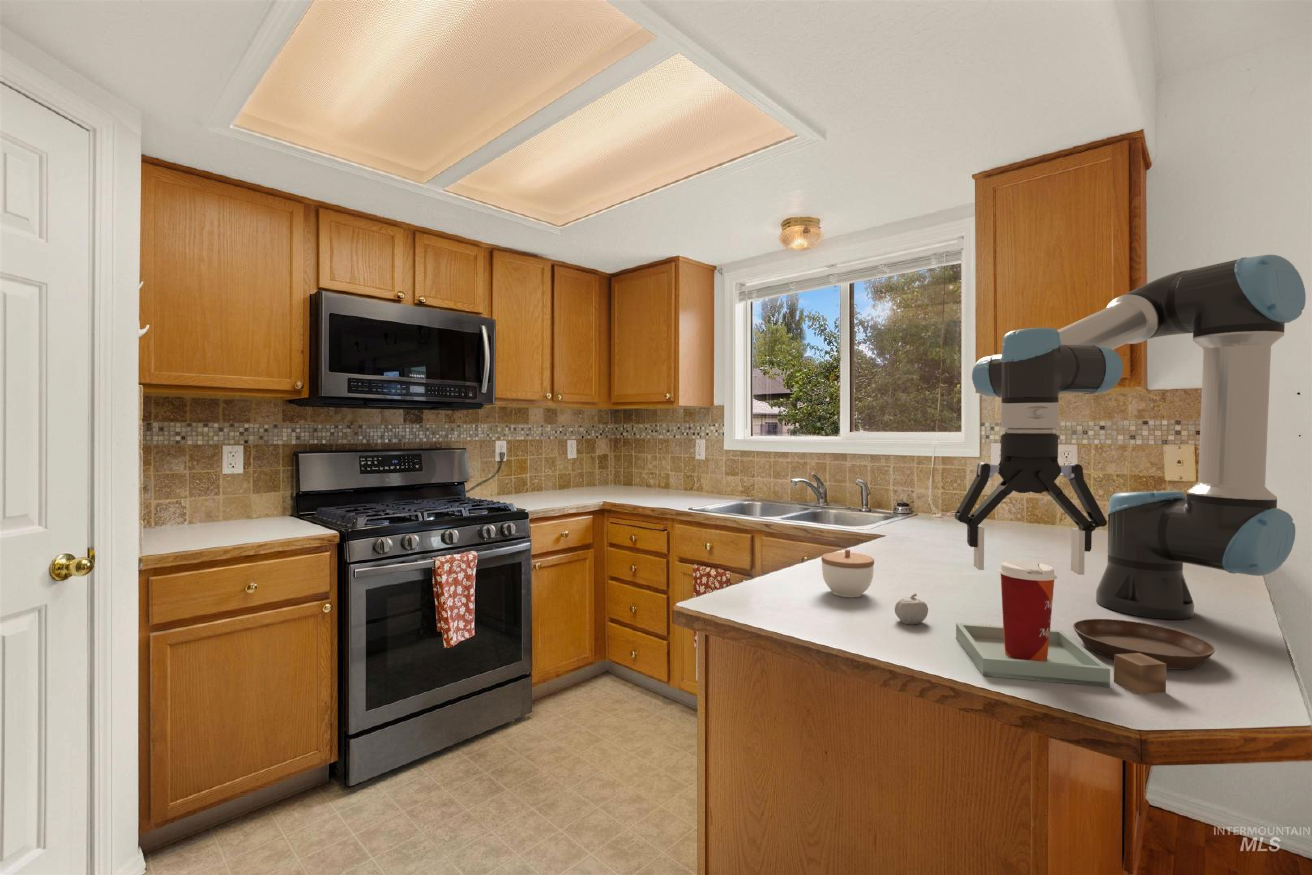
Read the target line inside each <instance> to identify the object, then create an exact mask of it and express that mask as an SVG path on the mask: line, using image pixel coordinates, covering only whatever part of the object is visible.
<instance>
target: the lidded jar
mask: <svg viewBox="0 0 1312 875" xmlns="http://www.w3.org/2000/svg"><path fill="white" fill-rule="evenodd" d="M820 560H821V571H822V577H823V581H824V583H825V584H826V586H827V588H828V589H829V590H830V591H831V592H832V594H833V595H835V596H837V597H843V598H859V597H862V596H863V594H864V593H865V592H866V591H867V590H868V589H869V587H870V586H871V585H872V582H873V577H874V565H875V558H873V557H872V556H870V555H866V554H862V553H856V552H851V549H847V548H846V549H845V550H844V551H834V552H827V553H823V554H822V555H821V558H820Z"/></svg>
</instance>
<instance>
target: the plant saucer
mask: <svg viewBox="0 0 1312 875" xmlns="http://www.w3.org/2000/svg"><path fill="white" fill-rule="evenodd" d="M1072 627H1073V630H1074V631H1075V633H1076V635H1077V636H1078V637H1079V638H1080V640H1081V641H1082V642H1083V643H1084V644H1085V645H1086V646H1087V647H1088V648H1089V649H1091V650H1092V651H1094V652H1096V653H1098V654H1099V655H1102V656H1105V657H1107V658H1111V659H1113V660H1114V654H1130V653H1141V654H1143V655H1146V656H1148V657H1151V658H1153V659H1156V660H1158V661H1160V662H1163V663H1165V664H1166V670H1189V669H1195V668H1196V667H1198V666H1199V665H1201V664H1203V663H1205V662H1206V661H1207V660H1208V659H1210V658H1211V657H1212V656H1213V654H1215V652H1216V648H1215V647H1214V645H1212V644H1211V643H1210V642H1209V641H1206V640H1204V639H1203V638H1200V637H1199V636H1195V635H1193V634H1190V633H1186V632H1185V631H1181V630H1177V629H1173V628H1169V627H1164V626H1159V625H1156V624H1151V623H1144V622H1139V621H1138V622H1137V621H1131V620H1125V619H1111V618H1092V619H1091V618H1090V619H1088V618H1087V619H1082V620H1078V621H1075V622H1074V623H1073V626H1072Z"/></svg>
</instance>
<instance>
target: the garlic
mask: <svg viewBox="0 0 1312 875" xmlns="http://www.w3.org/2000/svg"><path fill="white" fill-rule="evenodd" d="M917 596H918V594H917V593H912V595H911V596H910V597H908V596H906V597H903V598H901V599H899V600H898V601H897V602H896V604H895V606H894V613H895V615H896V617H897V618H898V619H899V621H900V622H902V623H904V624H905V625H918V624H922V622H924V620H926V618H927V616H928V613H929V607H928V605H927V603H926V602H925V601H924V600H921V599H918V598H916V597H917Z"/></svg>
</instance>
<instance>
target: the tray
mask: <svg viewBox="0 0 1312 875" xmlns="http://www.w3.org/2000/svg"><path fill="white" fill-rule="evenodd" d="M955 638H956V640H957V642H958V643H959V644H960V645H961V647H962V648H963V650H964V651H965V653H966V655H967V656H968V657H969V658H970V659H971V661H972V662H973V664H974V665H975V667H976V668H977V669H978V671H979V672H980V674H981V675H982V676H983V677H993V678H1004V679H1005V678H1006V679H1014V680H1016V679H1018V680H1028V681H1038V682H1039V681H1041V682H1050V683H1063V684H1070V685H1071V684H1073V685H1083V686H1084V685H1085V686H1094V687H1106V688H1107V687H1108V688H1110V687H1111V685H1110V684H1111V683H1110V682H1111V668H1110V667H1108V666H1107V665H1106V664H1105V663H1103V662H1102V661H1101V660H1100V659H1099V658H1097V657H1096V656H1094V655H1093V654H1092V653H1091V652H1089V651H1088V650H1087V649H1086V648H1085V647H1084V646H1082V645H1081V644H1079V642H1077V641H1076V640H1074V639H1073V638H1072V637H1071V636H1070V635H1069V634H1067V633H1066V632H1064V631H1063V630H1059V629H1058V630H1056V629H1050V636H1049V647H1048V656H1047V661H1045V662H1043V661H1031V660H1019V659H1013V658H1011V657H1009V656H1007V655H1006V654H1005V646H1004V630H1003V625H1002V626H998V625H987V624H986V625H984V624H970V623H969V624H968V623H957V622H956V623H955Z"/></svg>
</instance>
